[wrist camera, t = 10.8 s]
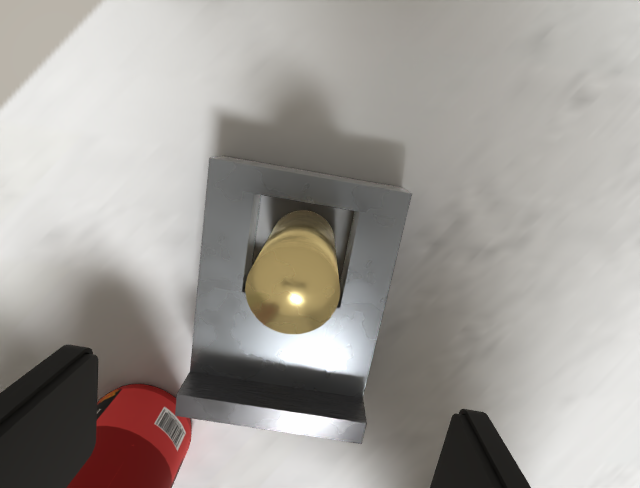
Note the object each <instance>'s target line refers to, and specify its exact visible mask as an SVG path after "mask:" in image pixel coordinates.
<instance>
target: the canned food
mask: <svg viewBox="0 0 640 488" xmlns="http://www.w3.org/2000/svg"><path fill="white" fill-rule="evenodd" d="M175 409H176V398H175V397H174V396H172V395H171V394H169V393H168V392H166V391H164V390H162V389H160V388H157V387H154V386H150V385H143V384H131V385H126V386H122V387H120V388H117V389H115V390H113V391H112V392H110V393H108V394H107V395H105V396H104V397H103V398H101V399H100V400H99V401H98V402H97V425H96V444H95V447H94V450H93V452H92V454H91V456H90V457H89V459H88V460H87V461H86V463H85V464H84V465H83V467H82V468H81V469H80V471H79V472H78V473H77V474H76V476H75V477H74V478H73V480H72V481H71V482H70V484H69V485H68V486H67V488H172V485H173V483H174V481H175V479H176V476H177V474H178V472H179V469H180V467H181V465H182V462H183V460H184V458H185V455H186V453H187V451H188V448H189V445H190V442H191V421H190V418H186V417H179V416H175Z"/></svg>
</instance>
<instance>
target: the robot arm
mask: <svg viewBox="0 0 640 488" xmlns="http://www.w3.org/2000/svg"><path fill="white" fill-rule="evenodd" d="M97 388H98V357H97V356H96V355H93V352H92V349H90V348H86V347H80V346H73V345H65V346H63V347H61V348H60V349H59V350H57V351H56V352H55V353H53V354H52V355H51V356H49V357H48V358H47V359H45V360H44V361H43V362H41V363H40V364H39V365H37V366H36V367H35V368H33V369H32V370H31V371H29V372H28V373H27V374H25V375H24V376H23V377H21V378H20V379H19V380H17V381H16V382H15V383H13V384H12V385H11V386H9V387H8V388H7V389H5V390H4V391H3V392H1V393H0V488H67V486H68V485H69V484H70V482H71V481H72V480H73V478H74V477H75V476H76V474H77V473H78V472H79V471H80V469H81V468H82V467H83V465H84V464H85V463H86V461H87V460H88V459H89V457H90V456H91V454H92V452H93V450H94V447H95V444H96V425H97ZM430 488H531V487H530V485H529V483H528V482H527V480H526V479H525V477H524V475H523V474H522V472H521V470H520V469H519V467H518V465H517V464H516V462H515V460H514V459H513V457H512V455H511V454H510V452H509V450H508V449H507V447H506V445H505V444H504V442H503V440H502V439H501V437H500V435H499V434H498V432H497V430H496V429H495V427H494V425H493V424H492V422H491V420H490V419H489V417H488V416H487V414H486V413H484V412H479V411H473V410H467V409H462V410H461V411H460V412H459V414H454V415H453V416H452V419H451V422H450V425H449V428H448V431H447V435H446V438H445V441H444V444H443V448H442V451H441V454H440V457H439V461H438V464H437V467H436V470H435V474H434V477H433V480H432V483H431V486H430Z"/></svg>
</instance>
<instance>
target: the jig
mask: <svg viewBox="0 0 640 488" xmlns="http://www.w3.org/2000/svg"><path fill="white" fill-rule="evenodd" d="M261 195H266V196H272V197H277V198H283V199H289V200H295V201H301V202H306V203H312V204H318V205H324V206H329V207H335V208H341V209H347V210H352V211H354V216H353V220H352V225H351V230H350V235H349V240H348V245H347V250H346V255H345V260H344V265H343V270H342V275H341V280H340V297H339V302H338V305H337V308H336V310H335V312H334V313H333V315H332V316H331V318H330V319H329V320H328V321H327V322H326V323H325V324H323V325H322V326H321V327H319V328H317V329H315V330H313V331H310V332H307V333H303V334H285V333H280V332H277V331H274V330H272V329H270V328H268V327H267V326H265V325H264V324H262V323H261V322H260V321H259V320H258V319H257V318H256V317H255V315H254V314H253V313H252V311H251V309H250V307H249V305H248V302H247V299H246V292H245V287H246V280H247V277H248V274H249V272H250V270H251V268H252V261H253V253H254V246H255V238H256V230H257V223H258V215H259V208H260V200H261ZM411 196H412V193H410V192H409V191H407V190H405V189H404V188H402V187H397V186H391V185H385V184H380V183H374V182H368V181H363V180H357V179H352V178H346V177H340V176H335V175H329V174H323V173H318V172H312V171H306V170H301V169H295V168H289V167H284V166H278V165H272V164H267V163H261V162H255V161H250V160H244V159H239V158H233V157H227V156H218V157H212V158H209V169H208V180H207V191H206V202H205V213H204V224H203V235H202V246H201V257H200V268H199V279H198V290H197V301H196V312H195V323H194V334H193V345H192V356H191V367H190V372H189V374H188V376H187V378H186V379H185V381H184V383H183V384H182V386H181V388H180V390H179V391H178V393H177V397H176V409H175V416H179V417H186V418H193V419H199V420H206V421H213V422H219V423H226V424H233V425H239V426H246V427H253V428H259V429H266V430H273V431H279V432H286V433H293V434H299V435H306V436H313V437H319V438H326V439H333V440H339V441H346V442H353V443H359V444H362V440H363V436H364V432H365V428H366V424H367V422H366V416H365V409H364V403H363V395H364V391H365V387H366V383H367V379H368V374H369V370H370V366H371V362H372V358H373V354H374V350H375V345H376V341H377V337H378V333H379V329H380V325H381V320H382V316H383V312H384V308H385V304H386V300H387V296H388V291H389V287H390V283H391V279H392V275H393V271H394V266H395V262H396V258H397V254H398V250H399V246H400V242H401V237H402V233H403V229H404V225H405V221H406V217H407V212H408V208H409V204H410V200H411Z"/></svg>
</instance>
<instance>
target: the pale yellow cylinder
mask: <svg viewBox="0 0 640 488" xmlns="http://www.w3.org/2000/svg"><path fill="white" fill-rule="evenodd" d="M245 292H246V299H247V302H248V305H249V307H250V309H251V311H252V313H253V314H254V315H255V317H256V318H257V319H258V320H259V321H260V322H261V323H262V324H264V325H265V326H267V327H268V328H270V329H272V330H274V331H277V332H280V333H285V334H303V333H307V332H310V331H313V330H315V329H317V328H319V327H321V326H322V325H323V324H325V323H326V322H327V321H328V320H329V319H330V318H331V316H332V315H333V313H334V312H335V310H336V308H337V305H338V302H339V297H340V284H339V275H338V266H337V258H336V249H335V240H334V234H333V230H332V228H331V226H330V225H329V223H328V222H327V221H326V220H325V219H324V218H323V217H322V216H320V215H319V214H317V213H315V212H312V211H307V210H298V211H293V212H290V213H288V214H286V215H285V216H283V217H282V218H281V219H280V220H279V221H278V222H277V224H276V225H275V227H274V229H273V231H272V232H271V234H270V236H269V238H268V239H267V241H266V243H265V245H264V246H263V248H262V250H261V252H260V254H259V255H258V257H257V259H256V261H255V262H254V264H253V266H252V268H251V270H250V272H249V274H248V277H247V280H246V287H245Z"/></svg>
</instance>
